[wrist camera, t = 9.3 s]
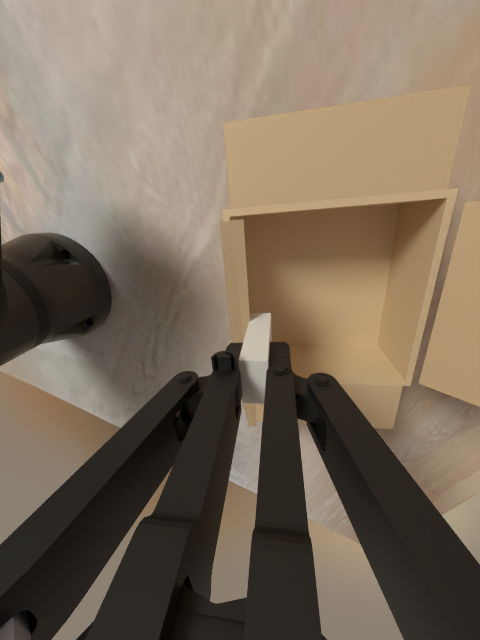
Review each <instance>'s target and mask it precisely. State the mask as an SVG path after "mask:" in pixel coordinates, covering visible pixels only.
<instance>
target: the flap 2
mask: <svg viewBox="0 0 480 640" xmlns="http://www.w3.org/2000/svg"><path fill="white" fill-rule="evenodd" d="M419 384H421V385H424V386H426V387H429V388H432V389H434V390H437V391H439V392H442V393H445V394H447V395H450V396H452V397H455V398H458V399H460V400H463V401H465V402H468V403H471V404H473V405H476V406H478V407H480V201H471V202H465V205H464V209H463V213H462V217H461V221H460V225H459V229H458V233H457V237H456V240H455V244H454V248H453V252H452V256H451V260H450V264H449V268H448V272H447V275H446V279H445V283H444V287H443V291H442V295H441V299H440V303H439V306H438V310H437V314H436V318H435V322H434V326H433V330H432V334H431V338H430V341H429V345H428V349H427V353H426V357H425V361H424V365H423V369H422V372H421V376H420V380H419Z"/></svg>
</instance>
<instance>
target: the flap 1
mask: <svg viewBox="0 0 480 640" xmlns="http://www.w3.org/2000/svg"><path fill="white" fill-rule="evenodd" d="M220 227H221V237H222V247H223V257H224V268H225V278H226V288H227V298H228V308H229V318H230V329H231V339H232V343H243V342H244V338H245V335H246V331H247V327H248V324H249V322H250V314H249V298H248V282H247V266H246V251H245V235H244V219H240V220H231V221H224V222H220ZM243 406H244V409H245V413H246V416H247V419H248V423H249V426H250V427H251V426H255V425H257V424H256V408H255V403H243Z"/></svg>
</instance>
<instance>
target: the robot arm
mask: <svg viewBox="0 0 480 640" xmlns="http://www.w3.org/2000/svg"><path fill="white" fill-rule="evenodd" d="M3 181H4V176H3V174H2V173H1V171H0V182H3ZM110 307H111V292H110V287H109V284H108V281H107V278H106V276H105V274H104V272H103V270H102V268H101V267H100V265H99V264H98V262H97V261H96V260H95V258H94V257H93V256H92V255H91V254H90V253H89V252H88V251H87V250H86V249H85V248H84V247H82V246H81V245H80V244H78V243H77V242H75V241H74V240H72V239H70V238H68V237H65V236H63V235H59V234H55V233H35V234H27V235H23V236H20V237H18V238H15V239H13V240H11V241H9V242H7V243H5V244H3V245H1V218H0V366H1V365H3V364H5V363H6V362H8V361H10V360H12V359H14V358H16V357H18V356H19V355H21V354H23V353H25V352H27V351H29V350H30V349H32V348H34V347H36V346H38V345H40V344H43V343H49V342H54V341H59V340H65V339H70V338H75V337H80V336H83V335H85V334H87V333H89V332H91V331H92V330H94V329H96V328H97V327H99V326H100V325H101V324H102V323H103V322H104V321H105V320H106V318H107V316H108V314H109V311H110ZM211 360H212V367H213V372H212V374H211V375H209V376H205V377H199V378H198V375H197V374H196V373H195V372H192V371H186V372H182V373H179V374H177V375H176V376H175V377H174V378H173V379H171V380H170V381H169V382H168V383H167V384H166V385H165V386H164V387H163V388H162V389H161V390H160V391H159V392H158V393H157V394H156V395H155V396H154V397H153V398H152V399H151V400H150V401H149V402H148V403H147V404H146V405H145V406H144V407H142V408H141V409H140V410H139V411H138V412H137V413H136V414H135V415H134V416H133V417H132V418H131V419H130V420H129V421H128V422H127V423H126V424H125V425H124V426H123V427H122V428H121V429H120V430H119V431H118V432H117V433H116V434H115V435H113V437H111V439H110V440H108V441H107V442H106V443H105V444H104V445H103V446H102V447H101V448H100V449H99V450H98V451H97V452H96V453H95V454H94V455H93V456H92V457H91V458H90V459H89V460H88V461H87V462H86V463H84V465H82V466H81V467H80V468H79V469H78V470H77V471H76V472H75V473H74V474H73V475H72V476H71V477H70V478H69V479H68V480H67V481H66V482H65V483H64V484H63V485H62V486H61V487H60V488H59V489H58V490H57V491H55V492H54V493H53V494H52V495H51V496H50V497H49V498H48V499H47V500H46V501H45V502H44V503H43V504H42V505H41V506H40V507H39V508H38V509H37V510H36V511H35V512H34V513H33V514H32V515H31V516H30V517H29V518H28V519H26V521H24V523H22V525H20V526H19V527H18V528H17V529H16V530H15V531H14V532H13V533H12V534H11V535H10V536H9V537H8V538H7V539H6V540H5V541H4V542H3V543H2V544H1V545H0V640H51V639H52V638H53V637H54V635H55V634H56V633H57V632H58V631H59V629H60V628H61V627H62V625H63V624H64V623H65V622H66V621H67V619H68V618H69V617H70V615H71V614H72V612H73V611H74V610H75V608H76V607H77V606H78V604H79V603H80V601H81V600H82V599H83V597H84V596H85V594H86V593H87V592H88V590H89V588H90V587H91V586H92V584H93V583H94V581H95V580H96V578H97V576H98V575H99V574H100V572H101V571H102V569H103V568H104V566H105V565H106V563H107V562H108V560H109V559H110V558H111V556H112V555H113V553H114V552H115V550H116V549H117V547H118V546H119V544H120V543H121V541H122V540H123V538H124V537H125V535H126V534H127V532H128V531H129V529H130V528H131V526H132V525H133V524H134V522H135V521H136V519H137V518H138V516H139V515H140V513H141V512H142V510H143V509H144V507H145V506H146V504H147V503H148V501H149V500H150V499H151V497H152V496H153V494H154V492H155V491H156V490H157V488H158V487H159V485H160V484H161V482H162V481H163V479H164V478H165V476H166V475H167V473H168V472H169V471H170V469H171V468H172V470H171V472H170V475H169V477H168V479H167V482H166V484H165V486H164V489H163V491H162V494H161V496H160V498H159V501H158V503H157V506H156V508H155V510H154V512H153V513H152V514H151V516H148V517H145V518H144V519H142V521H141V522H140V523H139V525H138V526H137V528H136V530H135V532H134V534H133V536H132V539H131V541H130V543H129V545H128V547H127V549H126V552H125V554H124V556H123V558H122V560H121V563H120V565H119V567H118V569H117V572H116V574H115V576H114V578H113V580H112V582H111V585H110V587H109V589H108V591H107V594H106V596H105V598H104V600H103V602H102V604H101V607H100V609H99V611H98V613H97V615H96V618H95V620H94V621H93V622H92V624H91V625H90V626H89V627H88V628H87V629H86V630H85V631H84V632H83V633H82V634H81V635H80V636H79V637H78V638H77V639H76V640H327V639H326V638H325V637H324V636H323V635H322V634H321V626H320V617H319V607H318V598H317V589H316V579H315V569H314V559H313V551H312V543H311V538H310V536H309V531H308V522H307V511H306V501H305V491H304V481H303V471H302V461H301V450H300V440H299V430H298V420H297V419H300V420H304V421H306V423H307V426H308V429H309V431H310V433H311V435H312V437H313V440H314V442H315V444H316V446H317V448H318V451H319V453H320V455H321V457H322V459H323V462H324V464H325V466H326V468H327V471H328V473H329V475H330V477H331V479H332V482H333V484H334V486H335V488H336V490H337V493H338V495H339V497H340V499H341V501H342V504H343V506H344V508H345V510H346V513H347V515H348V517H349V519H350V521H351V524H352V526H353V528H354V530H355V532H356V535H357V537H358V539H359V541H360V543H361V546H362V548H363V550H364V552H365V554H366V557H367V559H368V561H369V563H370V566H371V568H372V570H373V572H374V574H375V577H376V579H377V581H378V583H379V585H380V588H381V590H382V592H383V594H384V596H385V599H386V601H387V603H388V605H389V608H390V610H391V612H392V614H393V616H394V618H395V621H396V623H397V625H398V627H399V629H400V632H401V634H402V636H403V638H404V640H480V565H479V563H478V562H477V561H476V559H475V558H474V557H473V555H472V554H471V553H470V552H469V550H468V549H467V548H466V546H465V545H464V544H463V543H462V541H461V540H460V539H459V537H458V536H457V535H456V534H455V532H454V531H453V530H452V528H451V527H450V526H449V524H448V523H447V522H446V521H445V519H444V518H443V517H442V515H441V514H440V513H439V512H438V510H437V509H436V508H435V506H434V505H433V504H432V503H431V501H430V500H429V499H428V497H427V496H426V495H425V493H424V492H423V491H422V490H421V488H420V487H419V486H418V484H417V483H416V482H415V481H414V479H413V478H412V477H411V475H410V474H409V473H408V472H407V470H406V469H405V468H404V466H403V465H402V464H401V462H400V461H399V460H398V459H397V457H396V456H395V455H394V453H393V452H392V451H391V450H390V448H389V447H388V446H387V444H386V443H385V442H384V441H383V439H382V438H381V437H380V435H379V434H378V433H377V431H376V430H375V429H374V428H373V426H372V425H371V424H370V422H369V421H368V420H367V419H366V417H365V416H364V415H363V413H362V412H361V411H360V410H359V408H358V407H357V406H356V404H355V403H354V402H353V400H352V399H351V398H350V397H349V395H348V394H347V393H346V391H345V390H344V389H343V388H342V386H341V385H340V384H339V382H338V381H337V380H336V379H335V378H334V377H333V376H331V375H329V374H326V373H314V374H311V375H310V376H309V377H308V379H307V378H303V377H300V376H298V375H296V374H295V373H294V372H293V371H292V368H291V357H290V347H289V345H288V344H287V343H286V342H272V328H271V313H251V316H250V322H249V324H248V327H247V331H246V335H245V338H244V342H243V343H231V344H230V345H228V346H227V348H226V351H221V352H217V353H215V354H214V355H213V356H212V357H211ZM241 399H242V402H243V403H255V404H264V412H263V425H262V439H261V452H260V466H259V479H258V493H257V508H256V520H255V528H254V530H253V534H252V542H251V554H250V567H249V579H248V590H247V598H243V599H238V600H233V601H229V602H224V603H219V604H215V603H212V602H210V595H211V575H212V567H213V561H214V556H215V550H216V544H217V540H218V534H219V529H220V523H221V518H222V513H223V507H224V502H225V496H226V491H227V485H228V480H229V475H230V469H231V464H232V458H233V453H234V448H235V442H236V437H237V431H238V426H239V421H240V415H241ZM176 414H177V415H176ZM172 466H173V467H172Z"/></svg>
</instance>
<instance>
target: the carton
mask: <svg viewBox="0 0 480 640" xmlns="http://www.w3.org/2000/svg"><path fill="white" fill-rule="evenodd" d="M470 89H471V85H467V86H460V87H454V88H447V89H441V90H434V91H428V92H421V93H415V94H408V95H402V96H395V97H389V98H382V99H376V100H369V101H363V102H356V103H350V104H343V105H337V106H330V107H324V108H317V109H311V110H304V111H298V112H291V113H285V114H278V115H272V116H265V117H259V118H252V119H246V120H239V121H233V122H226V123H223V126H224V139H225V151H226V163H227V175H228V187H229V200H230V209H224V210H222V211H223V222H224V221H231V220H240V219H244V235H245V251H246V266H247V282H248V298H249V314H250V316H251V313H271V328H272V342H286V343H287V344H288V345H289V347H290V357H291V368H292V371H293V372H294V373H295V374H296V375H298V376H300V377H303V378H307V379H308V377H309V376H310V375H311V374H314V373H326V374H329V375H331V376H333V377H334V378H335V379H336V380H337V381H338V382H339V384H340V385H341V386H342V388H343V389H344V390H345V391H346V393H347V394H348V395H349V397H350V398H351V399H352V400H353V402H354V403H355V404H356V406H357V407H358V408H359V410H360V411H361V412H362V413H363V415H364V416H365V417H366V419H367V420H368V421H369V422H370V424H371V425H372V426H373V428H380V429H393V427H394V423H395V418H396V414H397V410H398V405H399V401H400V396H401V392H402V388H403V386H411V382H412V377H413V373H414V369H415V365H416V361H417V357H418V353H419V349H420V344H421V340H422V336H423V332H424V328H425V324H426V320H427V316H428V311H429V307H430V303H431V299H432V295H433V291H434V287H435V283H436V278H437V274H438V270H439V266H440V262H441V258H442V254H443V250H444V245H445V241H446V237H447V233H448V229H449V225H450V221H451V217H452V213H453V208H454V204H455V200H456V196H457V192H458V188H454V189H448V186H449V181H450V177H451V173H452V168H453V164H454V159H455V155H456V151H457V146H458V142H459V137H460V133H461V129H462V124H463V120H464V116H465V111H466V107H467V102H468V98H469V94H470ZM255 408H256V421H263V412H264V404H255ZM247 420H248V419H247ZM297 420H298V424H307V423H306V421H304V420H300V419H297Z"/></svg>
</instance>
